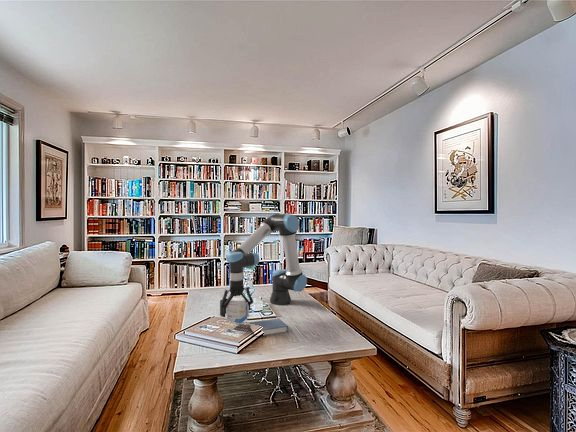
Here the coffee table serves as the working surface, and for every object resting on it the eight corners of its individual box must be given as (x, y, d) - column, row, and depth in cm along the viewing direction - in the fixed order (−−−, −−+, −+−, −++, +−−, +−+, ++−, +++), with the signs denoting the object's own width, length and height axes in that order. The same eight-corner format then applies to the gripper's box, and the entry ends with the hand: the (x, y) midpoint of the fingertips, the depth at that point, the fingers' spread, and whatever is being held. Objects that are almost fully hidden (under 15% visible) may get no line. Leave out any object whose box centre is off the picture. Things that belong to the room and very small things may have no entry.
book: (279, 324, 187) (279, 318, 187) (287, 332, 175) (287, 325, 175) (249, 328, 180) (249, 322, 180) (256, 337, 168) (256, 330, 168)
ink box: (247, 318, 186) (247, 298, 185) (240, 323, 178) (240, 303, 177) (234, 317, 189) (233, 297, 188) (227, 322, 181) (226, 301, 180)
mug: (239, 316, 200) (239, 302, 200) (219, 317, 198) (219, 303, 198) (238, 311, 209) (238, 297, 209) (220, 312, 207) (220, 298, 207)
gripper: (254, 276, 191) (255, 312, 191) (214, 280, 181) (215, 318, 182) (258, 278, 184) (259, 316, 184) (216, 283, 174) (217, 322, 175)
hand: (237, 317), depth 183 cm, fingers closed on ink box, 11 cm apart
